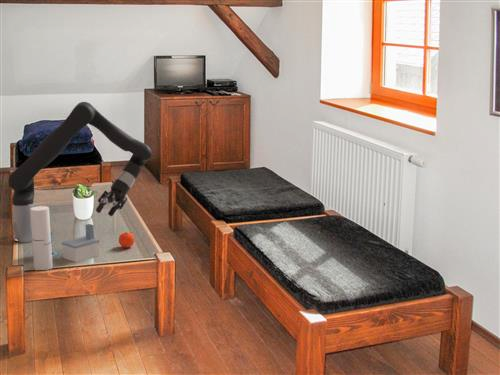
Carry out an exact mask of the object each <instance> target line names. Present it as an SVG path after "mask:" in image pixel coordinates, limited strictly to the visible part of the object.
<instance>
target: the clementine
mask: <svg viewBox="0 0 500 375" xmlns="http://www.w3.org/2000/svg"><path fill="white" fill-rule="evenodd" d="M118 244H119V245H120V246H121V247H122V248H125V249H126V248H127V249H128V248H131V247H132V246H133V245H134V244H135V236H134V234H132V233H131V231H124V232H122V233H121V234H119V237H118Z"/></svg>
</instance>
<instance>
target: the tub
mask: <svg viewBox="0 0 500 375" xmlns="http://www.w3.org/2000/svg"><path fill="white" fill-rule="evenodd" d="M61 245H62V257H63V259H66V260H68V261H72V262H75V263H77V262H81V261H85V260H88V259H89V260H90V259H93V258H96V257H99V256H100V246H99V245H100V241H99V242H98V243H94V244H90V245H87V246H83V247H79V248H72V247H69V246H66V245H63V244H62V243H61Z"/></svg>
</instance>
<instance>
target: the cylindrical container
mask: <svg viewBox="0 0 500 375" xmlns="http://www.w3.org/2000/svg"><path fill="white" fill-rule="evenodd" d="M30 210H31V225H32V240H33V241H32V252H33V268H34V270H35V271H37V270H46V271H49V269H50V270H52V269H53V268H54V267H53V258H52V250H53V249H52V242H51V233H50V230H51V220H50V208H49V206H45V205H39V206H34V207H33V208H31V209H30Z"/></svg>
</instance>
